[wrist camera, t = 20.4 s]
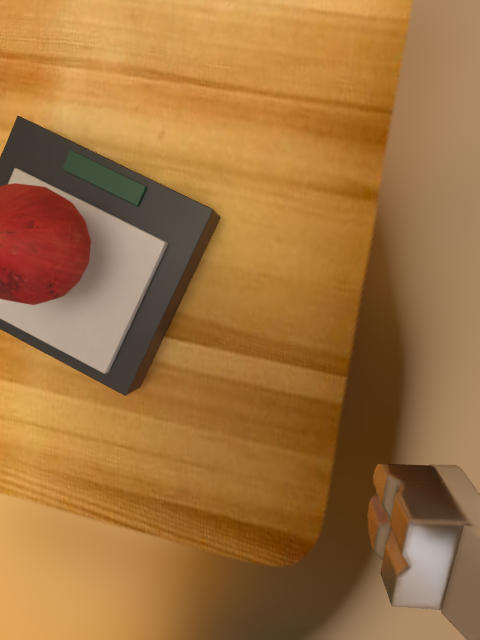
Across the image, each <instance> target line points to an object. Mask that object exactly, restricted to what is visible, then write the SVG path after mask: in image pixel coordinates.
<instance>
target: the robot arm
mask: <svg viewBox="0 0 480 640" xmlns="http://www.w3.org/2000/svg"><path fill="white" fill-rule="evenodd" d="M373 483H374V486H375V488H376V491H377V494H375V495H374V496H373V497H372V498H371V499H370V501H369V508H368V531H369V537H370V542H371V545H372V548H373V551H374V553H375V554H376V555H377V556H379V557H380V558H381V559H382V560H383V563H382V568H381V576H382V578H383V581H384V584H385V587H386V590H387V593H388V596H389V599H390V602H391V605H392V606H395V607H408V608H422V609H435V610H442V611H441V613H442V614H443V615H444V616H445V617H446V618H447V619H448V620H449V621H450V622H451V623H452V624H453V626H454V627H455V628H456V629H457V630H458V631H459V632H460V633H461V634H462V635H463V636H464V637H465V638H466V639H467V640H480V494H479V492H478V491H477V490H476V488H475V487H474V485H473V484H472V483H471V481H470V480H469V479H468V477H467V476H466V474H465V473H464V472H463V470H462V469H461V468H460V467H458V466H456V465H429V466H428V465H427V466H426V465H400V464H397V465H396V464H377V467H376V469H375V472H374V477H373Z"/></svg>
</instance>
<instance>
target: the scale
mask: <svg viewBox="0 0 480 640" xmlns="http://www.w3.org/2000/svg"><path fill="white" fill-rule="evenodd" d="M13 183H17V184H26V185H34V186H42V187H46V188H48V189H50V190H52V191H53V192H55V193H57V194H59V195H60V196H62V197H64V198H66V199H67V200H68V201H70V202H71V203H73V204H74V206H75V207H76V209H77V210H78V211H79V213H80V214H81V216H82V217H83V219H84V220H85V222H86V225H87V229H88V233H89V236H90V240H91V248H90V258H89V264H88V266H87V268H86V270H85V272H84V274H83V276H82V278H81V279H80V281H79V282H78V283H77V284H76V285H75V286H74V287H73V288H72V289H71V290H70V291H69V292H68V293H67V294H66V295H65V296H63V297H60V298H57V299H54V300H50V301H47V302H43V303H40V304H36V305H30V304H24V303H19V302H13V301H8V300H3V299H0V329H1V330H3V331H5V332H7V333H9V334H10V335H12V336H14V337H16V338H18V339H20V340H22V341H24V342H25V343H27V344H29V345H31V346H33V347H35V348H37V349H39V350H40V351H42V352H44V353H46V354H48V355H50V356H52V357H54V358H55V359H57V360H59V361H61V362H63V363H65V364H67V365H69V366H71V367H72V368H74V369H76V370H78V371H80V372H82V373H84V374H86V375H87V376H89V377H91V378H93V379H95V380H97V381H99V382H101V383H102V384H104V385H106V386H108V387H110V388H112V389H114V390H116V391H117V392H119V393H121V394H123V395H125V396H126V395H128V394H129V393H131V392H133V391H134V390H136V389H138V388H139V387H140V386H141V384H142V382H143V380H144V378H145V376H146V373H147V371H148V369H149V367H150V365H151V363H152V361H153V359H154V357H155V354H156V352H157V350H158V348H159V346H160V344H161V342H162V340H163V338H164V335H165V333H166V331H167V329H168V327H169V325H170V323H171V321H172V319H173V316H174V314H175V312H176V310H177V308H178V306H179V304H180V302H181V300H182V297H183V295H184V293H185V291H186V289H187V287H188V285H189V283H190V281H191V278H192V276H193V274H194V272H195V270H196V268H197V266H198V264H199V262H200V259H201V257H202V255H203V253H204V251H205V249H206V247H207V245H208V243H209V240H210V238H211V236H212V234H213V232H214V230H215V228H216V226H217V224H218V221H219V219H220V216H219V215H218V214H217V213H216V212H215V211H214V210H213V209H211V208H209V207H207V206H205V205H203V204H201V203H199V202H197V201H194V200H192V199H190V198H188V197H186V196H184V195H182V194H180V193H178V192H176V191H174V190H172V189H170V188H167V187H165V186H163V185H161V184H159V183H157V182H155V181H153V180H151V179H149V178H147V177H145V176H143V175H141V174H138V173H136V172H134V171H132V170H130V169H128V168H126V167H124V166H122V165H120V164H118V163H116V162H114V161H111V160H109V159H107V158H105V157H103V156H101V155H99V154H97V153H95V152H93V151H91V150H89V149H87V148H84V147H82V146H80V145H78V144H76V143H74V142H72V141H70V140H68V139H66V138H64V137H62V136H60V135H57V134H55V133H53V132H51V131H49V130H47V129H45V128H43V127H41V126H39V125H37V124H35V123H33V122H31V121H28V120H26V119H24V118H22V117H20V116H17V119H16V121H15V124H14V126H13V128H12V131H11V133H10V136H9V138H8V141H7V143H6V145H5V148H4V150H3V153H2V155H1V158H0V187H1V186H4V185H8V184H13Z"/></svg>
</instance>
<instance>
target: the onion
mask: <svg viewBox="0 0 480 640" xmlns="http://www.w3.org/2000/svg"><path fill="white" fill-rule="evenodd" d="M90 248H91V240H90V236H89V233H88V229H87V225H86V222H85V220H84V219H83V217H82V216H81V214H80V213H79V211H78V210H77V209H76V207H75V206H74V204H73V203H71V202H70V201H68V200H67V199H66V198H64V197H62V196H60V195H59V194H57V193H55V192H53V191H52V190H50V189H48V188H46V187H42V186H34V185H26V184H17V183H13V184H8V185H4V186H1V187H0V299H3V300H8V301H13V302H19V303H24V304H30V305H36V304H40V303H43V302H47V301H50V300H54V299H57V298H60V297H63V296H65V295H66V294H67V293H68V292H69V291H70V290H71V289H72V288H73V287H74V286H75V285H76V284H77V283H78V282H79V281H80V279H81V278H82V276H83V274H84V272H85V270H86V268H87V266H88V264H89V258H90Z"/></svg>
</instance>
